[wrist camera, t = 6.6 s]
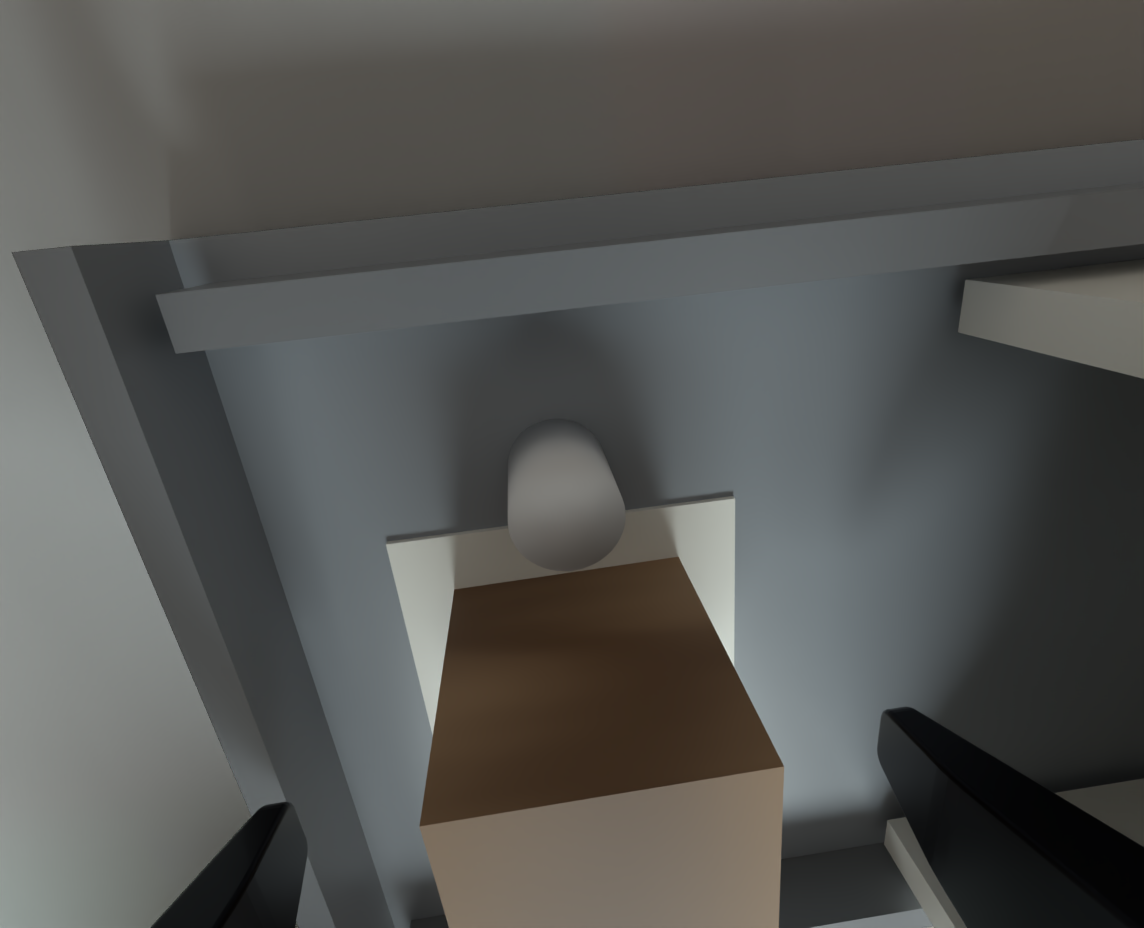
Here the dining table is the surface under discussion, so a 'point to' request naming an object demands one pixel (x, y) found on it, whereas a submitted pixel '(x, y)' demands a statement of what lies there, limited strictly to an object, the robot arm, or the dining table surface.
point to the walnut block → (599, 761)
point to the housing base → (633, 481)
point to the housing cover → (1082, 334)
